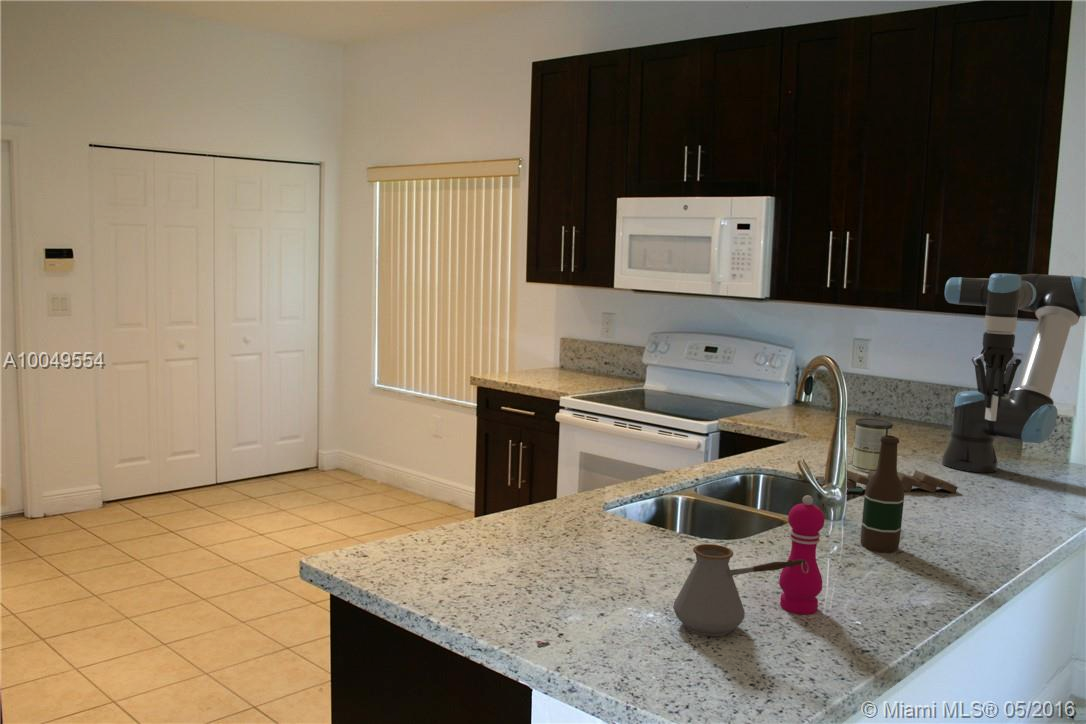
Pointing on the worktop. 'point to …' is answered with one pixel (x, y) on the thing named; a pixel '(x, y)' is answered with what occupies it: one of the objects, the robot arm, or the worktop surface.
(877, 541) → the beer bottle
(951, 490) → the domino
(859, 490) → the domino
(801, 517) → the pepper mill
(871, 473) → the domino
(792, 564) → the coffee pot
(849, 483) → the domino
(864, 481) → the domino
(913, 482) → the domino
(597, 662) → the worktop surface
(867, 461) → the coffee can
